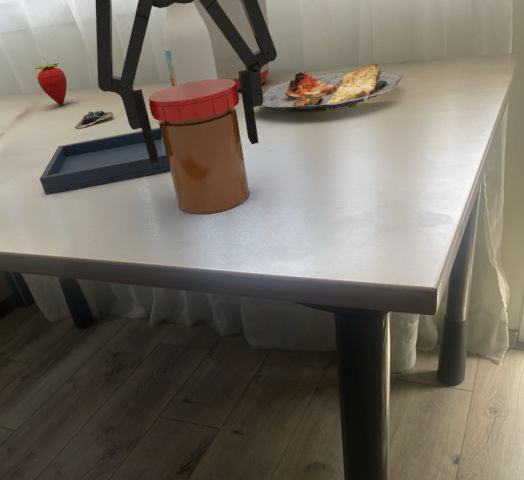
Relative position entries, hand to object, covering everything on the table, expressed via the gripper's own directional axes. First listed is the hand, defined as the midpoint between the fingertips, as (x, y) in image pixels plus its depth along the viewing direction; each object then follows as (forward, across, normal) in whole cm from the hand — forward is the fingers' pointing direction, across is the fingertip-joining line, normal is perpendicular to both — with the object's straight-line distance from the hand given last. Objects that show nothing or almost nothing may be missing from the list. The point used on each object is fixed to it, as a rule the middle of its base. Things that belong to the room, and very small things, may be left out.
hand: (204, 149), depth 56 cm
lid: (-5, 0, 0) cm, 5 cm away
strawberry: (+6, -28, +76) cm, 81 cm away
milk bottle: (+6, +1, +41) cm, 41 cm away
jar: (+6, 0, 0) cm, 6 cm away
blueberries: (+6, -18, +52) cm, 56 cm away
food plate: (+6, +22, +35) cm, 42 cm away
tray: (+6, -13, +21) cm, 25 cm away
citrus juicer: (+6, +10, +61) cm, 62 cm away
